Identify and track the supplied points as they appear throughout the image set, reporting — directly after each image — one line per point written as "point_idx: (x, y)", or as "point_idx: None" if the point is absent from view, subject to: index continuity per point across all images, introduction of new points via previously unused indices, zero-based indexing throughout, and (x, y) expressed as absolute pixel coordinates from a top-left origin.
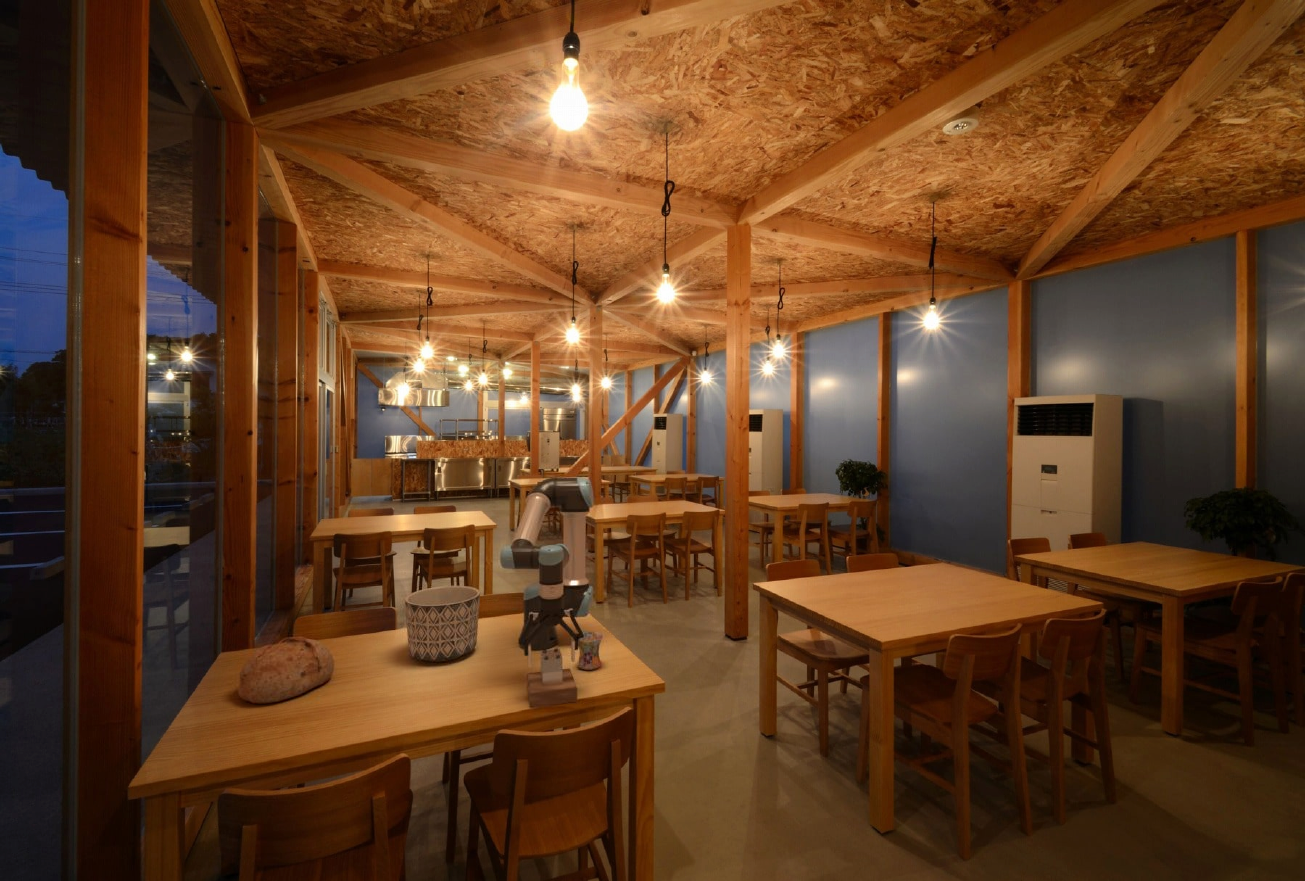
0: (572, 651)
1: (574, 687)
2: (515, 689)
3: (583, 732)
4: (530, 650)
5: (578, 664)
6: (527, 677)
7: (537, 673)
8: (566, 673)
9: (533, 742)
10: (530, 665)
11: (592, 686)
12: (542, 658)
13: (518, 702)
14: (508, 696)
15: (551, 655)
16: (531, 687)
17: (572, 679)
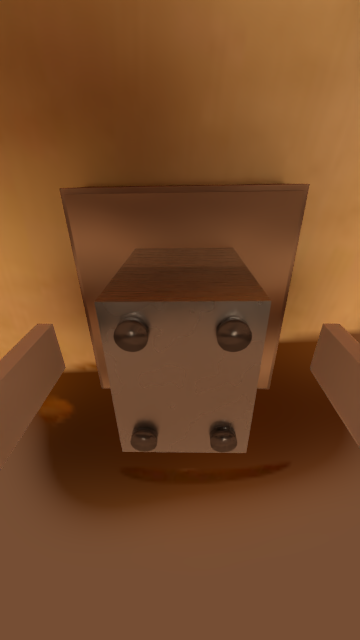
0: (344, 423)
1: (261, 388)
2: (39, 209)
3: (231, 472)
4: (2, 460)
5: None
6: (71, 242)
7: (118, 215)
8: (268, 257)
9: (129, 476)
10: (59, 373)
11: (351, 269)
12: (119, 431)
13: (72, 319)
14: (25, 267)
15: (182, 405)
16: (101, 351)
17: (275, 328)
